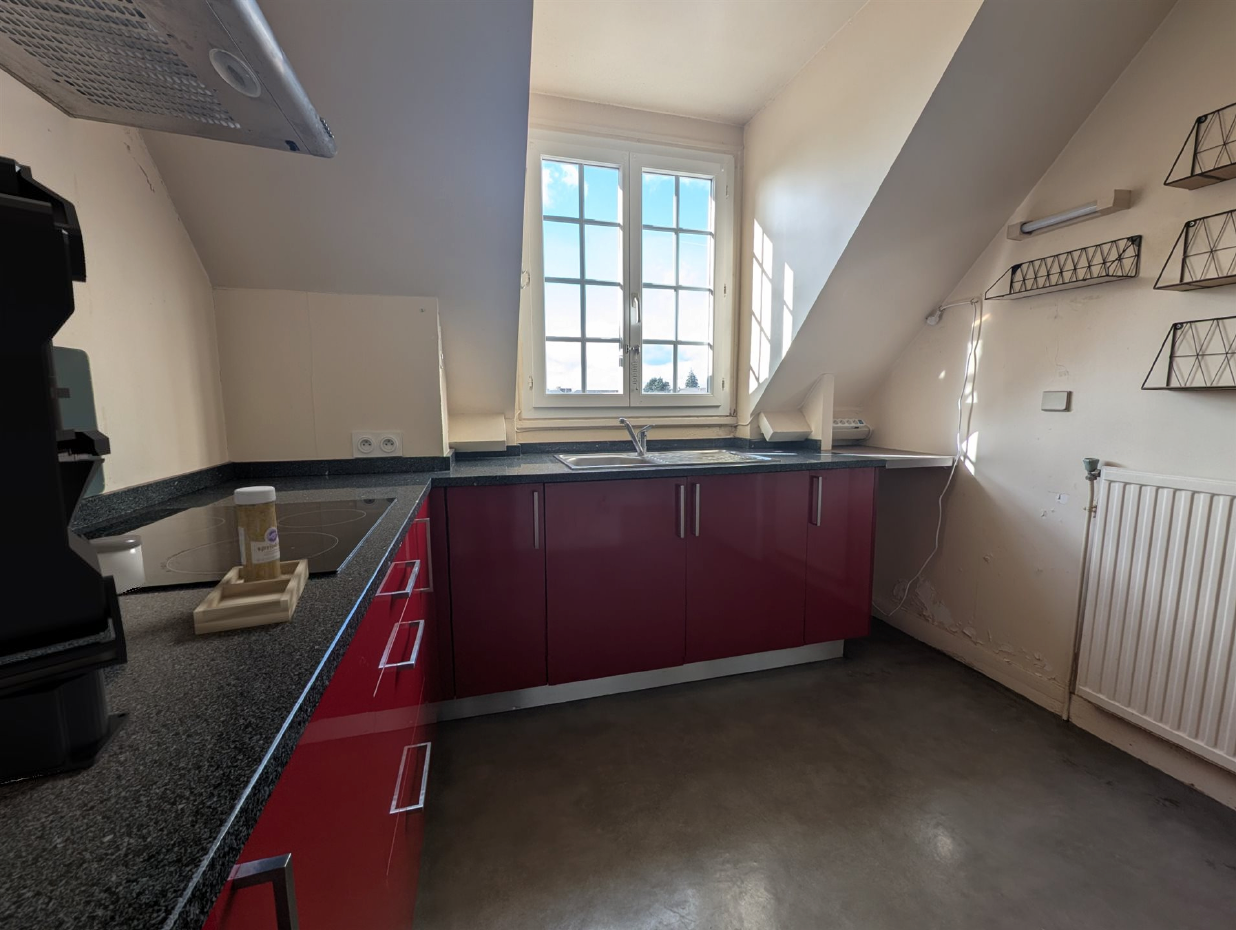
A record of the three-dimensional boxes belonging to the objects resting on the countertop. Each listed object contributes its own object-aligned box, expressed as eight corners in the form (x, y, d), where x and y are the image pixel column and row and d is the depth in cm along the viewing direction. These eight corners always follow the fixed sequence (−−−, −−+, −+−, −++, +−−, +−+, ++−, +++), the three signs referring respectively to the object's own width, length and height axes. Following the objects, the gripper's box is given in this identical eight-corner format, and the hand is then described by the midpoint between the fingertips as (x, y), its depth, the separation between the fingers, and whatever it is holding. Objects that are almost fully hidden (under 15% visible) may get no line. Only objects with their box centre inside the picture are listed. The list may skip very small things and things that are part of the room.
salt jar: (135, 592, 71) (129, 543, 70) (75, 599, 68) (68, 548, 68) (153, 578, 77) (148, 533, 76) (98, 584, 74) (92, 537, 73)
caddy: (289, 620, 62) (288, 599, 62) (195, 634, 58) (193, 611, 58) (308, 576, 78) (307, 559, 77) (235, 585, 74) (233, 566, 74)
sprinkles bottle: (272, 587, 69) (264, 490, 68) (235, 589, 69) (226, 491, 67) (288, 576, 74) (281, 484, 72) (254, 578, 73) (245, 485, 72)
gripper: (-37, 378, 53) (-15, 525, 55) (-232, 368, 36) (-191, 579, 38) (104, 380, 58) (120, 516, 60) (-10, 372, 41) (17, 561, 43)
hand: (35, 538), depth 50 cm, fingers open, 9 cm apart
